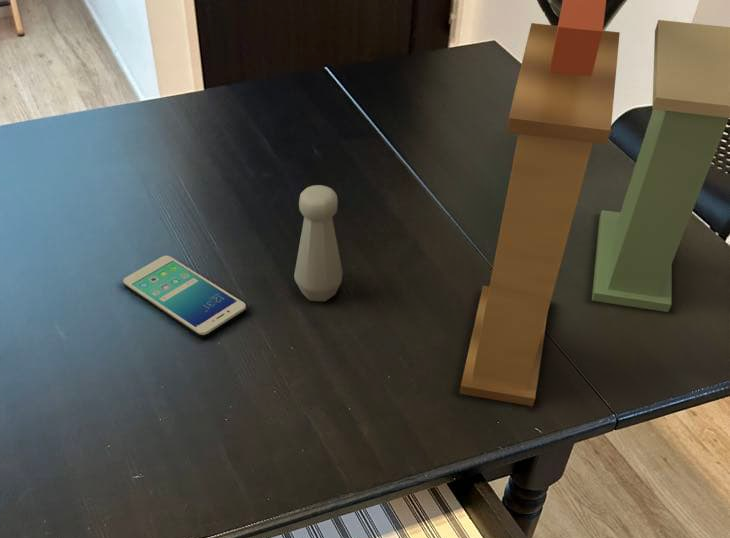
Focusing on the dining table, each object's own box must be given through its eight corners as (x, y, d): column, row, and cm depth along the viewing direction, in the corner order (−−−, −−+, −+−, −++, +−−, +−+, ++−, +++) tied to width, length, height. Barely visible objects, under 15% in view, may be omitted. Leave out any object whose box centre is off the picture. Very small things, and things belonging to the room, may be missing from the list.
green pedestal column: (599, 217, 110) (658, 19, 90) (668, 227, 108) (743, 28, 89) (591, 300, 99) (656, 96, 80) (668, 312, 98) (752, 108, 79)
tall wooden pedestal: (481, 293, 100) (531, 22, 76) (547, 303, 99) (619, 32, 75) (459, 393, 90) (508, 117, 66) (533, 406, 89) (610, 130, 64)
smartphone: (166, 253, 103) (249, 305, 97) (167, 259, 104) (249, 310, 98) (119, 280, 100) (201, 335, 94) (121, 285, 101) (202, 341, 95)
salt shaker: (288, 300, 99) (284, 201, 89) (303, 273, 103) (300, 173, 92) (334, 310, 98) (336, 210, 88) (348, 281, 101) (351, 182, 91)
